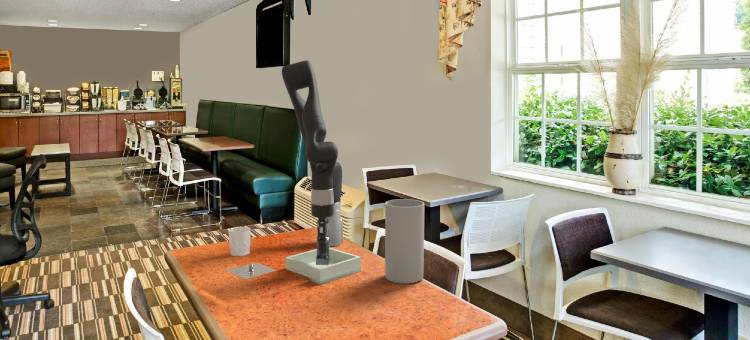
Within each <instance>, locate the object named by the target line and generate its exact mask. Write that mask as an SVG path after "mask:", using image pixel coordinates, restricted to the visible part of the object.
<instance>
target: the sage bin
mask: <svg viewBox="0 0 750 340" xmlns="http://www.w3.org/2000/svg"><path fill="white" fill-rule="evenodd" d="M329 255H330V259H329V265H316V257H317V248H315V249H312V250H308V251H305V252H301V253H297V254H293V255H289V256H287V257H286V256H285V259H284V261H285V270H287V271H291V272H293V273H295V274H298V275H301V276H303V277H306V280H307V281H310V282H312V283H316V284H317V285H320V286H321V285H324V284H327V283H330V282H333V281H336V280H340V279H342V278H345V277H347V276H350V275H353V274H357V273H359V272H361V271H362V256H359V255H356V254H352V253H350V252H345V251H342V250H338V249H336V248H332V247H329Z"/></svg>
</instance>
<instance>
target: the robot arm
mask: <svg viewBox="0 0 750 340" xmlns="http://www.w3.org/2000/svg"><path fill="white" fill-rule="evenodd" d="M315 73H316V72H315V71H314V68H313V65H312V63H311V62H310V60H307V59H306V60H302V61H299V62H293V63H290V64H286V65H284V66H282V67H281V76H282V81H283V84H284V86H285V88H286V91H287V93H288V96H289V99H290V101H291V104H292V106H293V109H294V112H295V113H294V114H295V117H296V121H297V124H298V127H299V131H300V133H301V134H300V135H301V137H302V140H303V142H304V145H305V158H306V160H307V162H308V163H309V166H310V171H311V179H310V180H311V193H310V204H311V205H310V209H311V213H310V214H311V217H314V218H317V220H316V226H315V227H316V236H318V243H319V253H320V254H326V242H327V240H326V236H327V235H328V236H329V247H336V246H337V247H338V246H340V245H341V244H342V243H344V233H343V231H344V230H343V228H344V227H343V222H344V221H343V219H342V216H341V215H342V213H341V211H342V208H341V205H342V203H341V198H342V197H341V196H342V191H343V189H342V188H343V184H342V183H343V167H342V165H341V163H340V162H338V161H337V160H338V156H339V151H338V150H339V149H338V146H337V144H336V143H334V142H333V141H325V139H326V137H327V127H326V124H325V121H324V118H323V113H322V108H321V103H320V95H319V89H318V83H317V79H316V78H317V77H316V74H315ZM306 88H308V94H307V98H306V100H304V99H303V98H302V96H301V95H300V93H299V92H298V91H299V90H302V89H306ZM320 237H324V239H320Z"/></svg>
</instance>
